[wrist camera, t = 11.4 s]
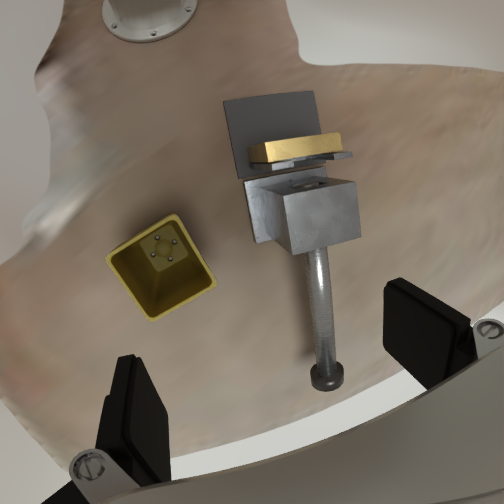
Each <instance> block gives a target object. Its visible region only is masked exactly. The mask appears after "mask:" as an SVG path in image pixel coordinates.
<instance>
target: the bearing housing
mask: <svg viewBox="0 0 504 504" xmlns="http://www.w3.org/2000/svg"><path fill="white" fill-rule="evenodd" d="M305 182H318V183H319V185H317V186H312V187H306V188H301V189H294V188H293V185H296V184H299V183H305ZM243 184H244V189H245V195H246V200H247V205H248V210H249V215H250V220H251V225H252V231H253V236H254V241H255V243H261V242H265V241H269V240H273V239H274V240H275V241H276V242H277V243H278V244H280V245H281V246H282V247H283V248H284V249H286V250H287V251H288V252H289V253H290V254H291V255H297V254H301V253H304V252H308V251H312V250H316V249H319V248H323V247H327V246H331V245H334V244H338V243H342V242H345V241H349V240H353V239H356V238H360V237H361V227H360V216H359V206H358V197H357V188H356V182H354V181H348V180H341V179H334V178H327V175H326V168H325V167H317V168H311V169H305V170H300V171H294V172H289V173H283V174H278V175H273V176H268V177H263V178H258V179H253V180H248V181H244V182H243Z"/></svg>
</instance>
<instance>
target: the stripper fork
mask: <svg viewBox="0 0 504 504" xmlns="http://www.w3.org/2000/svg"><path fill="white" fill-rule="evenodd" d="M350 157H353V156H352V152H328V153H321V154H315V155H308V156H302V157H296V158H290V159H284V160H279V161H273V162H255V163H250V164H249V166H250V168H251V169H262V170H272V171H273V170H278V169H283V168H289V167H294V161H300V160H306V159H316V160H337V159H344V158H350Z"/></svg>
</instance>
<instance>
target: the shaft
mask: <svg viewBox="0 0 504 504" xmlns="http://www.w3.org/2000/svg"><path fill="white" fill-rule="evenodd" d="M317 185H319V183H318V182H305V183H299V184H296V185H293V188H294V189H301V188H306V187H312V186H317ZM303 254H304V261H305V268H306V276H307V284H308V292H309V300H310V308H311V317H312V325H313V335H314V344H315V354H316V364H315V365H313V367H312V368H311V370H310V375H311V383H312V386H313V387H314V388H315V389H317V390H319V391H324V392H327V391H333V390H335V389H337V388H339V387H340V386H341V385H342V384H343V381H344V369H343V366H342V364H341V363H339V362H337V361H336V347H335V331H334V317H333V304H332V292H331V281H330V271H329V262H328V252H327V247H323V248H319V249H316V250H312V251H308V252H304V253H303Z"/></svg>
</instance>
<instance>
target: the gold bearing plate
mask: <svg viewBox="0 0 504 504" xmlns="http://www.w3.org/2000/svg"><path fill="white" fill-rule="evenodd" d="M247 148H248V153H249V158H250V162H273V161H279V160H284V159H290V158H296V157H302V156H308V155H315V154H321V153H328V152H335V151H342V150H343V149H342V143H341V137H340V132H338V133H329V134H321V135H313V136H306V137H298V138H292V139H285V140H278V141H272V142H266V143H261V144H257V145H252V146H248V147H247Z"/></svg>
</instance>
